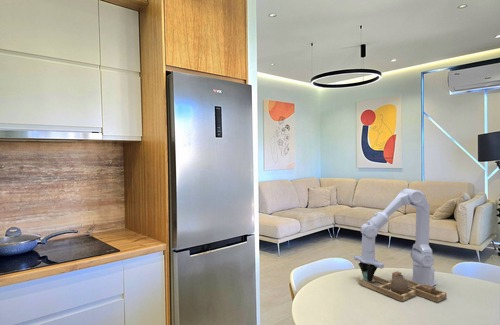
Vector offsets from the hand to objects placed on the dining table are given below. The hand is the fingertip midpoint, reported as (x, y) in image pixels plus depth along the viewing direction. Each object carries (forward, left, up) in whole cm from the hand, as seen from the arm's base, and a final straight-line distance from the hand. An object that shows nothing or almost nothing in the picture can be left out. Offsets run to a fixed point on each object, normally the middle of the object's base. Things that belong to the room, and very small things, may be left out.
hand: (367, 279), depth 144 cm
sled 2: (-10, +17, -2) cm, 20 cm away
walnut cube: (-10, +22, -2) cm, 24 cm away
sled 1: (0, +9, -2) cm, 9 cm away
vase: (0, +15, -2) cm, 16 cm away
